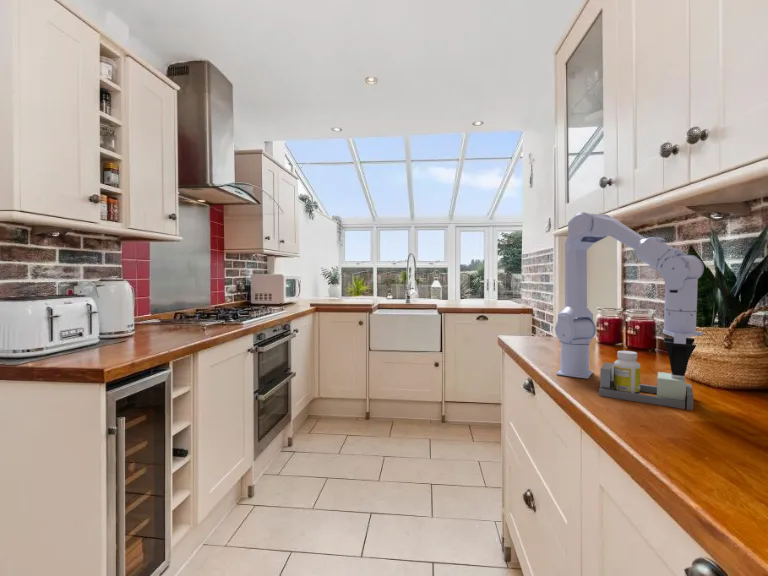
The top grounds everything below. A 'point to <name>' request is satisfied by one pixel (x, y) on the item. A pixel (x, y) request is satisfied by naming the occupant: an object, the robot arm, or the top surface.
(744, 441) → the top surface
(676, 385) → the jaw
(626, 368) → the supplement bottle
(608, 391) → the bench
